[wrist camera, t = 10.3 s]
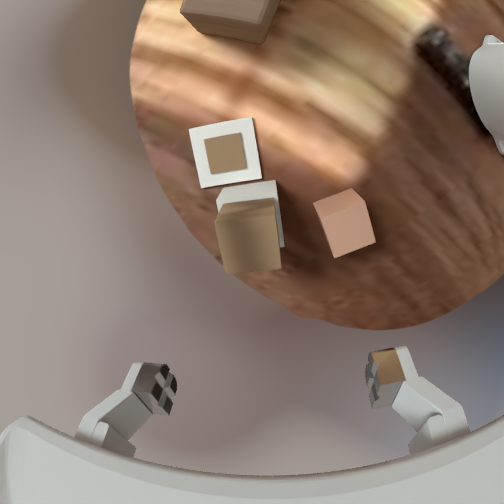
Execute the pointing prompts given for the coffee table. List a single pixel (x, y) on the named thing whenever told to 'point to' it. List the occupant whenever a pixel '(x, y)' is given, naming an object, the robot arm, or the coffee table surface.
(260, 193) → the base block
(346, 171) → the coffee table surface
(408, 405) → the robot arm
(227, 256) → the walnut cube
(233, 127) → the card
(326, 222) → the terracotta cube
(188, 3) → the decorative block
